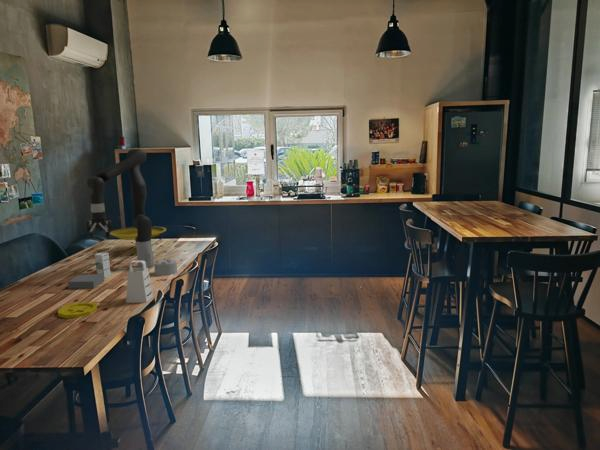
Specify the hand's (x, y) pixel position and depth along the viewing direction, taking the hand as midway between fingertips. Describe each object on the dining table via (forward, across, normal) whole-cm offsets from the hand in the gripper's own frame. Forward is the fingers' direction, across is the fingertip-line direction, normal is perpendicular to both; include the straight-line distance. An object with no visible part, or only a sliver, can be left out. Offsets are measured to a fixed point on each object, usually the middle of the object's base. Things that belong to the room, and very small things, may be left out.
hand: (100, 238), depth 279 cm
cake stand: (+24, +1, -68) cm, 72 cm away
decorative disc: (+24, -12, +59) cm, 65 cm away
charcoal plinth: (+24, +3, +16) cm, 29 cm away
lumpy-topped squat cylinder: (+24, -36, -6) cm, 44 cm away
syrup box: (+24, 0, 0) cm, 24 cm away
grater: (+24, -36, +42) cm, 60 cm away
